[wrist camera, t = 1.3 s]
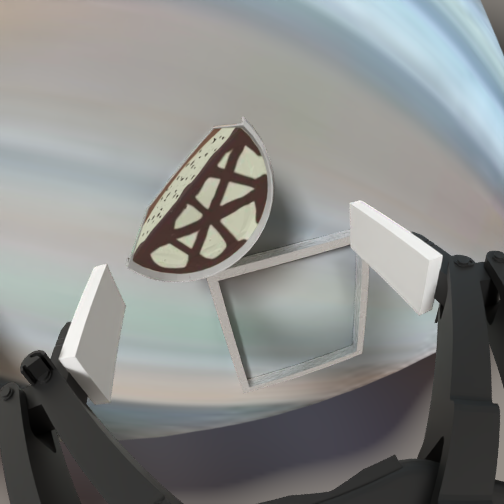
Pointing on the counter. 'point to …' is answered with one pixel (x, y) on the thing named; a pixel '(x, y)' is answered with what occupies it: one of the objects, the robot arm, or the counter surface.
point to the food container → (207, 208)
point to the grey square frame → (277, 258)
